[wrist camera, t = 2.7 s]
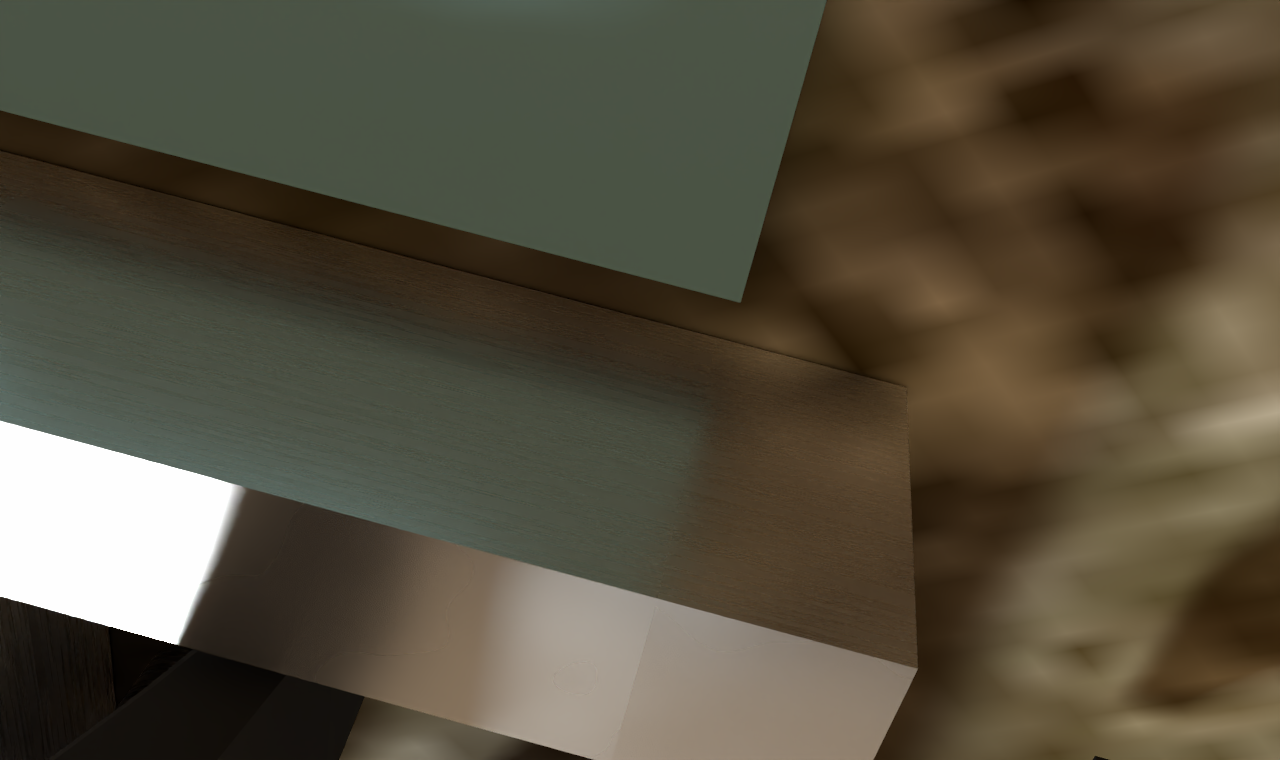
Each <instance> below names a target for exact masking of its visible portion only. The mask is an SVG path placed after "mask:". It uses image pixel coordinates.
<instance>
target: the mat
mask: <svg viewBox="0 0 1280 760" xmlns="http://www.w3.org/2000/svg"><path fill="white" fill-rule="evenodd" d="M826 1H827V0H0V110H1V111H4V112H8V113H12V114H16V115H20V116H24V117H28V118H31V119H35V120H39V121H43V122H47V123H51V124H54V125H58V126H62V127H66V128H70V129H74V130H78V131H81V132H85V133H89V134H93V135H97V136H101V137H104V138H108V139H112V140H116V141H120V142H124V143H128V144H131V145H135V146H139V147H143V148H147V149H151V150H154V151H158V152H162V153H166V154H170V155H174V156H178V157H181V158H185V159H189V160H193V161H197V162H201V163H205V164H208V165H212V166H216V167H220V168H224V169H228V170H231V171H235V172H239V173H243V174H247V175H251V176H255V177H258V178H262V179H266V180H270V181H274V182H278V183H281V184H285V185H289V186H293V187H297V188H301V189H305V190H308V191H312V192H316V193H320V194H324V195H328V196H331V197H335V198H339V199H343V200H347V201H351V202H355V203H358V204H362V205H366V206H370V207H374V208H378V209H381V210H385V211H389V212H393V213H397V214H401V215H405V216H408V217H412V218H416V219H420V220H424V221H428V222H431V223H435V224H439V225H443V226H447V227H451V228H455V229H458V230H462V231H466V232H470V233H474V234H478V235H481V236H485V237H489V238H493V239H497V240H501V241H505V242H508V243H512V244H516V245H520V246H524V247H528V248H531V249H535V250H539V251H543V252H547V253H551V254H555V255H558V256H562V257H566V258H570V259H574V260H578V261H582V262H585V263H589V264H593V265H597V266H601V267H605V268H608V269H612V270H616V271H620V272H624V273H628V274H632V275H635V276H639V277H643V278H647V279H651V280H655V281H658V282H662V283H666V284H670V285H674V286H678V287H682V288H685V289H689V290H693V291H697V292H701V293H705V294H708V295H712V296H716V297H720V298H724V299H728V300H732V301H735V302H739V303H741V299H742V296H743V292H744V289H745V285H746V282H747V278H748V275H749V271H750V268H751V264H752V261H753V257H754V254H755V250H756V247H757V243H758V240H759V236H760V233H761V229H762V226H763V222H764V219H765V215H766V212H767V208H768V205H769V201H770V198H771V194H772V190H773V187H774V183H775V180H776V176H777V173H778V169H779V166H780V162H781V159H782V155H783V152H784V148H785V145H786V141H787V138H788V134H789V131H790V127H791V124H792V120H793V117H794V113H795V110H796V106H797V103H798V99H799V96H800V92H801V89H802V85H803V82H804V78H805V75H806V71H807V68H808V64H809V61H810V57H811V54H812V50H813V47H814V43H815V40H816V36H817V33H818V29H819V26H820V22H821V19H822V15H823V12H824V8H825V4H826Z"/></svg>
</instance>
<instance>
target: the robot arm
mask: <svg viewBox="0 0 1280 760" xmlns="http://www.w3.org/2000/svg"><path fill="white" fill-rule="evenodd" d="M363 699H364V696H361V695H358V694H354V693H350V692H347V691H343V690H340V689H336V688H332V687H329V686H325V685H321V684H318V683H314V682H311V681H307V680H303V679H300V678H296V677H292V676H289V675H285V674H282V673H278V672H274V671H271V670H267V669H263V668H260V667H256V666H253V665H249V664H245V663H242V662H238V661H234V660H231V659H227V658H224V657H220V656H216V655H213V654H209V653H205V652H202V651H198V650H195V649H193V650H191V651H190V652H189V653H188V654H187V655H185V656H184V657H183V658H182V659H180V660H179V661H178V662H177V663H175V664H174V665H173V666H172V667H170V668H169V669H168V670H167V671H165V672H164V673H163V674H162V675H160V676H159V677H158V678H157V679H155V680H154V681H153V682H152V683H150V684H149V685H148V686H147V687H145V688H144V689H143V690H142V691H140V692H139V693H138V694H136V695H135V696H134V697H133V698H131V699H130V700H129V701H127V702H126V703H125V704H123V705H122V706H121V707H119V708H118V709H117V710H115V711H114V712H112V713H111V714H110V715H108V716H107V717H106V718H104V719H103V720H101V721H100V722H99V723H97V724H96V725H95V726H93V727H92V728H90V729H89V730H88V731H86V732H85V733H84V734H82V735H81V736H79V737H78V738H77V739H75V740H74V741H73V742H71V743H70V744H69V745H67V746H66V747H64V748H63V749H62V750H60V751H59V752H58V753H56V754H55V755H53V756H52V757H51V758H49V759H48V760H339V758H340V756H341V753H342V751H343V748H344V746H345V743H346V741H347V739H348V736H349V734H350V731H351V729H352V726H353V724H354V721H355V719H356V716H357V714H358V711H359V709H360V706H361V704H362V701H363ZM1093 760H1108V759H1104V758H1101V757H1097V756H1095V757H1094V759H1093Z"/></svg>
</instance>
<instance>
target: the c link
mask: <svg viewBox="0 0 1280 760" xmlns="http://www.w3.org/2000/svg"><path fill="white" fill-rule="evenodd" d="M108 626H111V627H115V628H118V629H122V630H126V631H129V632H133V633H137V634H140V635H144V636H147V637H151V638H155V639H158V640H162V641H166V642H169V643H173V644H176V645H180V646H184V647H187V648H191V649H195V650H198V651H202V652H205V653H209V654H213V655H216V656H220V657H224V658H227V659H231V660H234V661H238V662H242V663H245V664H249V665H253V666H256V667H260V668H263V669H267V670H271V671H274V672H278V673H282V674H285V675H289V676H292V677H296V678H300V679H303V680H307V681H311V682H314V683H318V684H321V685H325V686H329V687H332V688H336V689H340V690H343V691H347V692H350V693H354V694H358V695H361V696H365V697H369V698H372V699H376V700H379V701H383V702H387V703H390V704H394V705H398V706H401V707H405V708H408V709H412V710H416V711H419V712H423V713H426V714H430V715H434V716H437V717H441V718H445V719H448V720H452V721H455V722H459V723H463V724H466V725H470V726H474V727H477V728H481V729H484V730H488V731H492V732H495V733H499V734H503V735H506V736H510V737H513V738H517V739H521V740H524V741H528V742H532V743H535V744H539V745H542V746H546V747H550V748H553V749H557V750H561V751H564V752H568V753H571V754H575V755H579V756H582V757H586V758H590V759H593V760H873V759H874V757H875V755H876V753H877V751H878V749H879V747H880V745H881V743H882V741H883V739H884V737H885V735H886V733H887V731H888V729H889V727H890V725H891V723H892V721H893V719H894V717H895V715H896V713H897V711H898V709H899V707H900V705H901V703H902V700H903V698H904V696H905V694H906V692H907V690H908V688H909V686H910V684H911V682H912V680H913V678H914V676H915V674H916V672H917V670H918V658H917V633H916V609H915V585H914V560H913V536H912V512H911V487H910V463H909V439H908V415H907V390H906V387H903V386H899V385H896V384H892V383H888V382H884V381H880V380H876V379H873V378H869V377H865V376H861V375H857V374H853V373H850V372H846V371H842V370H838V369H834V368H830V367H827V366H823V365H819V364H815V363H811V362H807V361H804V360H800V359H796V358H792V357H788V356H784V355H781V354H777V353H773V352H769V351H765V350H762V349H758V348H754V347H750V346H746V345H742V344H739V343H735V342H731V341H727V340H723V339H719V338H716V337H712V336H708V335H704V334H700V333H696V332H693V331H689V330H685V329H681V328H677V327H673V326H670V325H666V324H662V323H658V322H654V321H650V320H647V319H643V318H639V317H635V316H631V315H628V314H624V313H620V312H616V311H612V310H608V309H605V308H601V307H597V306H593V305H589V304H585V303H582V302H578V301H574V300H570V299H566V298H562V297H559V296H555V295H551V294H547V293H543V292H539V291H536V290H532V289H528V288H524V287H520V286H516V285H513V284H509V283H505V282H501V281H497V280H493V279H490V278H486V277H482V276H478V275H474V274H471V273H467V272H463V271H459V270H455V269H451V268H448V267H444V266H440V265H436V264H432V263H428V262H425V261H421V260H417V259H413V258H409V257H405V256H402V255H398V254H394V253H390V252H386V251H382V250H379V249H375V248H371V247H367V246H363V245H359V244H356V243H352V242H348V241H344V240H340V239H337V238H333V237H329V236H325V235H321V234H317V233H314V232H310V231H306V230H302V229H298V228H294V227H291V226H287V225H283V224H279V223H275V222H271V221H268V220H264V219H260V218H256V217H252V216H248V215H245V214H241V213H237V212H233V211H229V210H225V209H222V208H218V207H214V206H210V205H206V204H202V203H199V202H195V201H191V200H187V199H183V198H180V197H176V196H172V195H168V194H164V193H160V192H157V191H153V190H149V189H145V188H141V187H137V186H134V185H130V184H126V183H122V182H118V181H114V180H111V179H107V178H103V177H99V176H95V175H91V174H88V173H84V172H80V171H76V170H72V169H68V168H65V167H61V166H57V165H53V164H49V163H46V162H42V161H38V160H34V159H30V158H26V157H23V156H19V155H15V154H11V153H7V152H3V151H0V760H48V759H49V758H51V757H52V756H53V755H55V754H56V753H58V752H59V751H60V750H62V749H63V748H64V747H66V746H67V745H69V744H70V743H71V742H73V741H74V740H75V739H77V738H78V737H79V736H81V735H82V734H84V733H85V732H86V731H88V730H89V729H90V728H92V727H93V726H95V725H96V724H97V723H99V722H100V721H101V720H103V719H104V718H106V717H107V716H108V715H110V714H111V713H112V712H114V711H115V710H116V700H115V690H114V680H113V670H112V660H111V650H110V639H109V629H108Z"/></svg>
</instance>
